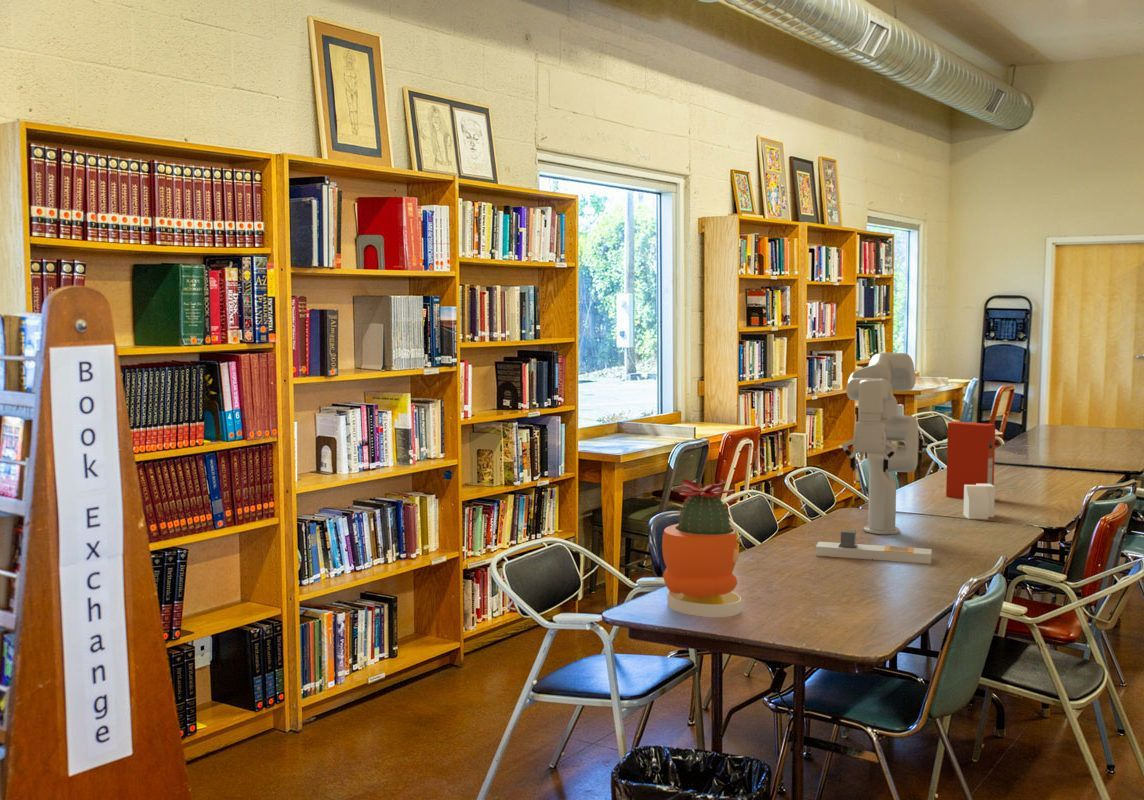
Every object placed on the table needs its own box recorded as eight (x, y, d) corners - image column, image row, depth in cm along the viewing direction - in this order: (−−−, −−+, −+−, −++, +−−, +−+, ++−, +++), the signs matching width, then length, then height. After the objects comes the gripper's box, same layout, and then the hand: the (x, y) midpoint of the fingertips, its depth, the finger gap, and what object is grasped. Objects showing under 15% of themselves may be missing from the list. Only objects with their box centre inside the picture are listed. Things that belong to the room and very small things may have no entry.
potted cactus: (690, 594, 309) (691, 472, 306) (756, 608, 294) (758, 480, 291) (641, 609, 294) (642, 480, 291) (708, 625, 278) (709, 490, 275)
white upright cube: (989, 513, 428) (990, 483, 427) (997, 519, 417) (998, 488, 416) (961, 513, 430) (962, 483, 429) (968, 518, 418) (969, 487, 417)
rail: (818, 550, 364) (818, 540, 364) (931, 558, 353) (931, 548, 352) (815, 555, 357) (815, 545, 357) (931, 563, 345) (931, 553, 345)
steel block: (841, 553, 360) (842, 529, 360) (855, 554, 359) (855, 530, 358) (840, 556, 356) (840, 532, 355) (854, 557, 355) (854, 532, 354)
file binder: (985, 501, 455) (987, 425, 452) (945, 496, 467) (947, 422, 464) (993, 499, 461) (995, 424, 458) (953, 494, 473) (955, 421, 470)
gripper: (898, 418, 351) (897, 470, 352) (843, 416, 356) (842, 468, 357) (897, 419, 344) (896, 473, 345) (841, 418, 349) (840, 471, 350)
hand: (868, 470), depth 351 cm, fingers open, 9 cm apart
